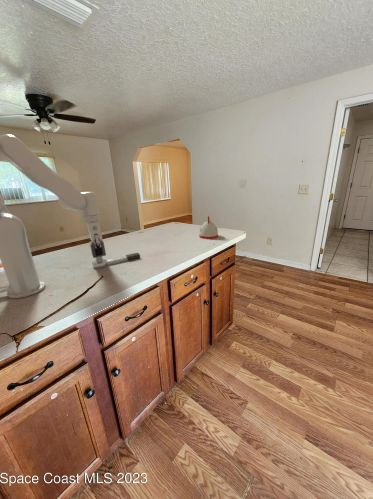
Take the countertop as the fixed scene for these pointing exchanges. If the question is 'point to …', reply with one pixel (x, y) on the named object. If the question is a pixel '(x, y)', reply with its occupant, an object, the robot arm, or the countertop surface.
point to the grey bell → (208, 230)
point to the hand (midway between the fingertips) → (98, 253)
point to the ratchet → (113, 260)
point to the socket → (94, 249)
